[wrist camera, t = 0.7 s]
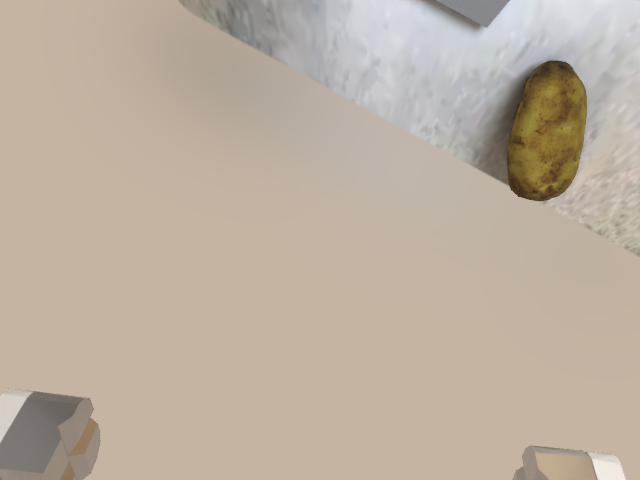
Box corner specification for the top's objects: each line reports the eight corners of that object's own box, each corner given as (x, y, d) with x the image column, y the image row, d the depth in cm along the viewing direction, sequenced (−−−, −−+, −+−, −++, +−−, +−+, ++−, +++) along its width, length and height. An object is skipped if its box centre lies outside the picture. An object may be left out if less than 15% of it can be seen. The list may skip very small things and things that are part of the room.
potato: (619, 64, 55) (644, 123, 51) (546, 162, 65) (560, 219, 60) (536, 43, 54) (553, 101, 49) (473, 146, 64) (482, 203, 59)
